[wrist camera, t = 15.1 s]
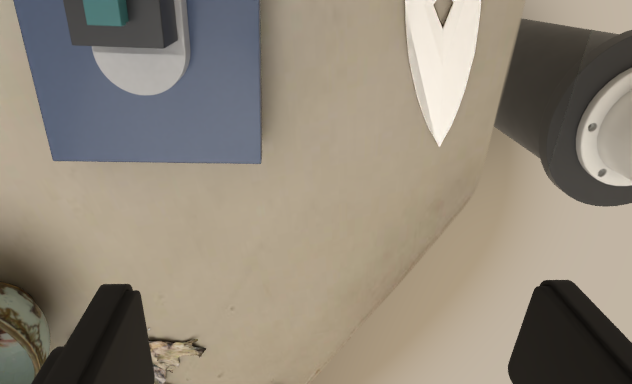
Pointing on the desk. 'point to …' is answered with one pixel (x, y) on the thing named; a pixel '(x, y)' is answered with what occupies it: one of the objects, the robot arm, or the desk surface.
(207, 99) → the blue rectangular board
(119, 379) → the robot arm
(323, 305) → the desk surface
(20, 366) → the bowl
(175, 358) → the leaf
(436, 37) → the knife
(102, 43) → the iron
